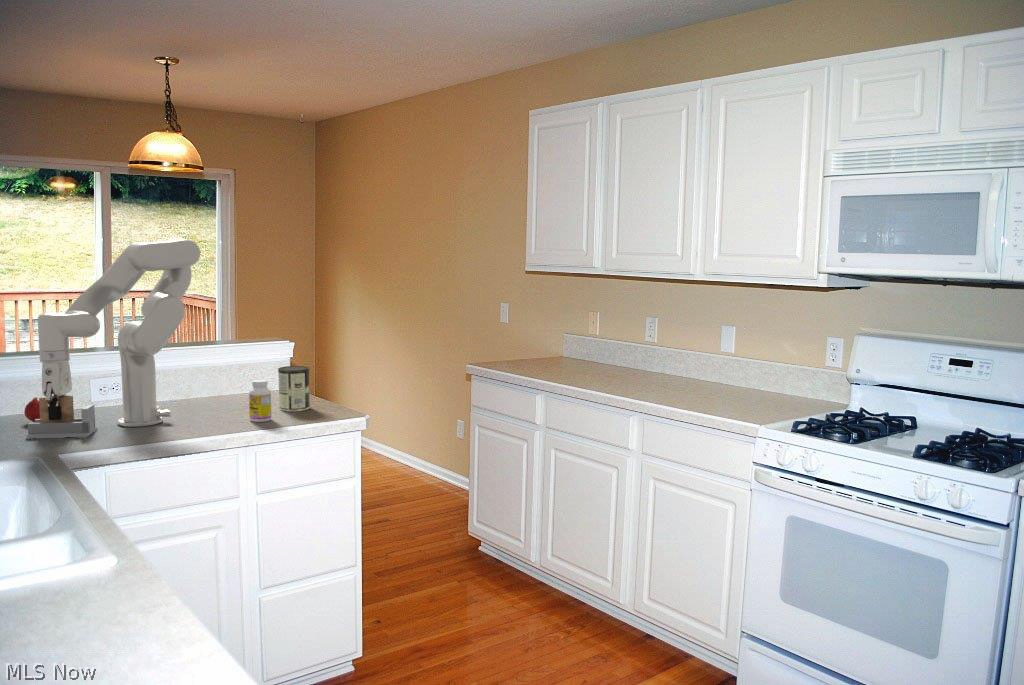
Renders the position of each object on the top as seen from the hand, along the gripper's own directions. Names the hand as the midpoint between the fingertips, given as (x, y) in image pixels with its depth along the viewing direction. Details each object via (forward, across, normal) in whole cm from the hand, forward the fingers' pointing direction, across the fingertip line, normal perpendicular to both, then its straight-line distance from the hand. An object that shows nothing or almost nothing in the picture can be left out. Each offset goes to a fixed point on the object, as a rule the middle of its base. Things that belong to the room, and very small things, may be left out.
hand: (57, 417), depth 232 cm
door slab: (+2, 0, 0) cm, 2 cm away
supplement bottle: (+5, +13, -55) cm, 57 cm away
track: (+5, 0, -1) cm, 5 cm away
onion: (+5, +16, +12) cm, 21 cm away
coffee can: (+5, +30, -64) cm, 71 cm away
